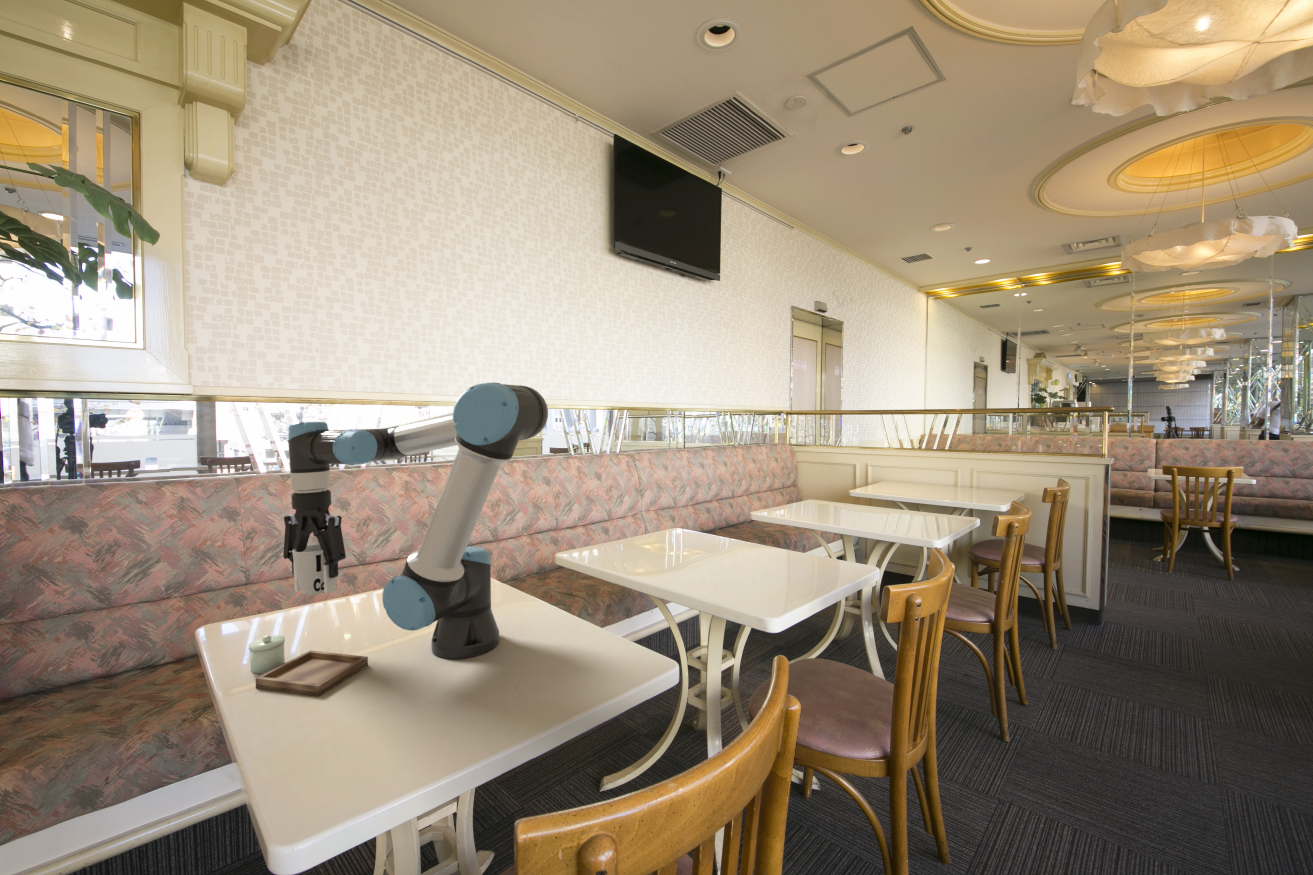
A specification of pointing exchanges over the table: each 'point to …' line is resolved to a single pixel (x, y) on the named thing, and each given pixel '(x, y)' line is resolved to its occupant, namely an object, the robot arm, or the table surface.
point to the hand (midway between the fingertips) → (316, 590)
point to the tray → (312, 673)
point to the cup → (310, 569)
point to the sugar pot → (266, 654)
